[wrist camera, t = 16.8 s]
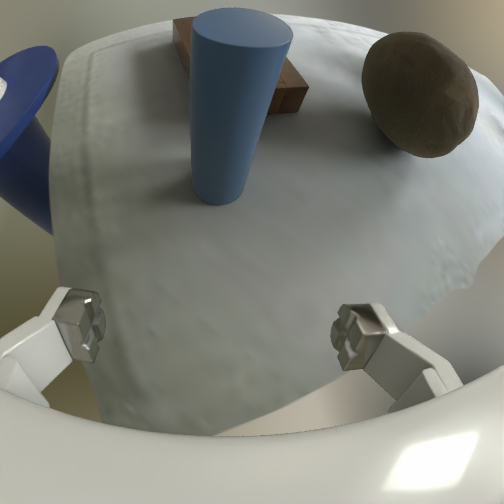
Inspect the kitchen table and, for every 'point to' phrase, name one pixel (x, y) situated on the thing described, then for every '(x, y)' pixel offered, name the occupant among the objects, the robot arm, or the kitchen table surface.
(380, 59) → the cantaloupe
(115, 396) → the kitchen table surface
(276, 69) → the peg
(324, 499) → the robot arm
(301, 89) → the peg block
